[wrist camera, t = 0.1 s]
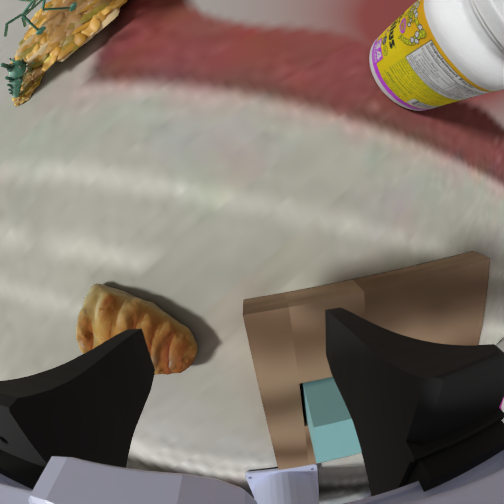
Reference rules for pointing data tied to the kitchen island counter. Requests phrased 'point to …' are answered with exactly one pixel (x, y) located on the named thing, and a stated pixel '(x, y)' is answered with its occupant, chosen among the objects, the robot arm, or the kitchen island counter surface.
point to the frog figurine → (54, 38)
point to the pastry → (135, 327)
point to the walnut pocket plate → (367, 307)
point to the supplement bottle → (441, 53)
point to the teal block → (328, 421)
